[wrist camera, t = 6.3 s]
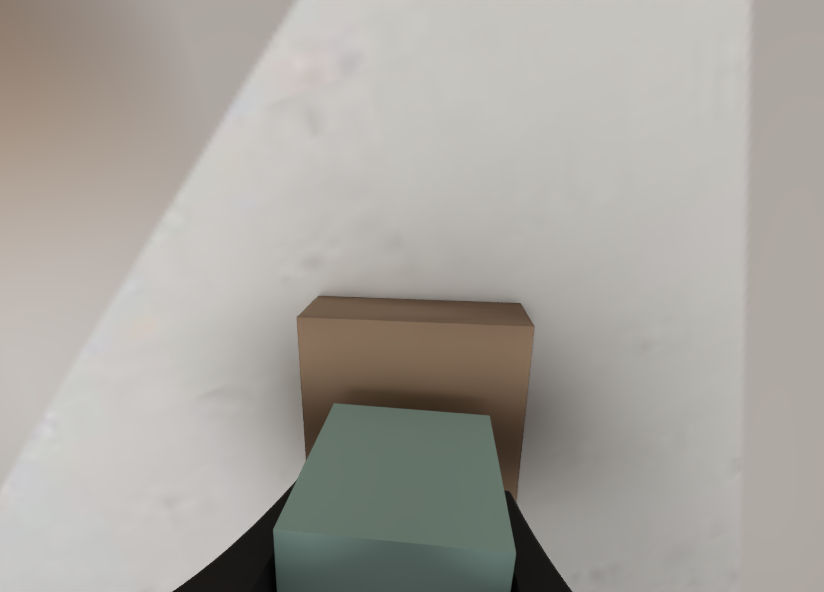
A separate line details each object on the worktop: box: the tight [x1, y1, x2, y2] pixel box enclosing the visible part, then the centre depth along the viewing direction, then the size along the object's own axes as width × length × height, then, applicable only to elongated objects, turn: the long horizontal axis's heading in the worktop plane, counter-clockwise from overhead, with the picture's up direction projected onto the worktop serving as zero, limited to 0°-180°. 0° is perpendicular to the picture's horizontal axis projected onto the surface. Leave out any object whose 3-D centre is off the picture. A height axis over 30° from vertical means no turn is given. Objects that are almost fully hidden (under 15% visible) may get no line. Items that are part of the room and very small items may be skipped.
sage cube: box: [273, 403, 516, 592], centre depth 12 cm, size 5×5×5 cm
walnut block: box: [297, 296, 534, 502], centre depth 17 cm, size 10×8×3 cm
